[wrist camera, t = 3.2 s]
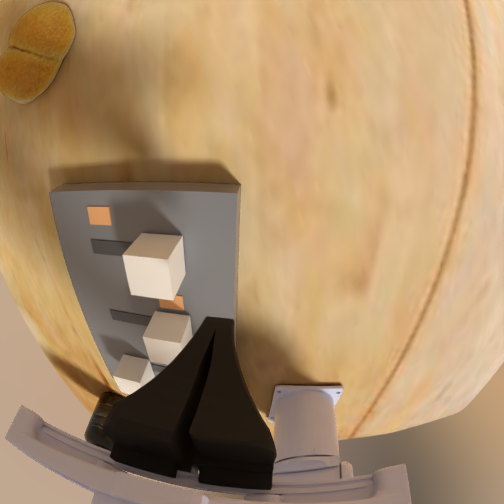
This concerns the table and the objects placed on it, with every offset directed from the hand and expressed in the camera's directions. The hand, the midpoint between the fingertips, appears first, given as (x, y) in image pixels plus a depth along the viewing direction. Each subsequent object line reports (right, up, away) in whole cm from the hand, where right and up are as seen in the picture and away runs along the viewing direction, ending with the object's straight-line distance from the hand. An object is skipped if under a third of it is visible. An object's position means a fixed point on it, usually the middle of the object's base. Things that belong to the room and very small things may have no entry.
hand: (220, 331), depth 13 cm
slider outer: (-5, +4, +6) cm, 8 cm away
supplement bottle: (-19, -20, +23) cm, 36 cm away
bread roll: (-16, +21, 0) cm, 26 cm away
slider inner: (-10, -8, +13) cm, 18 cm away
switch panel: (-7, -1, +11) cm, 13 cm away
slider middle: (-5, -2, +9) cm, 10 cm away
